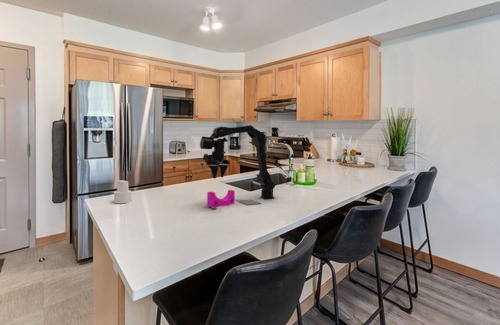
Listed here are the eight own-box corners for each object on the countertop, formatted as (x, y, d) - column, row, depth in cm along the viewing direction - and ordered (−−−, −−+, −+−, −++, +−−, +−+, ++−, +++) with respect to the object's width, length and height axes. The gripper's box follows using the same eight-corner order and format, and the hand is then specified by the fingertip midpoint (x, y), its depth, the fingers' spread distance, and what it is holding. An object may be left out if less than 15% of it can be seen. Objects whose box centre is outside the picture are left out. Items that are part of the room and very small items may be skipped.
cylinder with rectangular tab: (134, 201, 153) (133, 181, 153) (117, 204, 146) (117, 182, 146) (127, 200, 159) (127, 180, 159) (111, 201, 153) (111, 181, 152)
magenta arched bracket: (212, 207, 139) (212, 193, 139) (207, 205, 144) (207, 192, 144) (236, 204, 148) (237, 191, 147) (231, 203, 153) (231, 190, 152)
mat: (246, 199, 165) (246, 198, 165) (261, 204, 149) (261, 202, 149) (233, 200, 160) (233, 199, 160) (246, 205, 144) (246, 204, 144)
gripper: (213, 150, 159) (213, 176, 159) (197, 148, 141) (197, 178, 142) (230, 150, 155) (230, 176, 156) (216, 149, 138) (215, 179, 138)
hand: (218, 177), depth 148 cm, fingers open, 9 cm apart
